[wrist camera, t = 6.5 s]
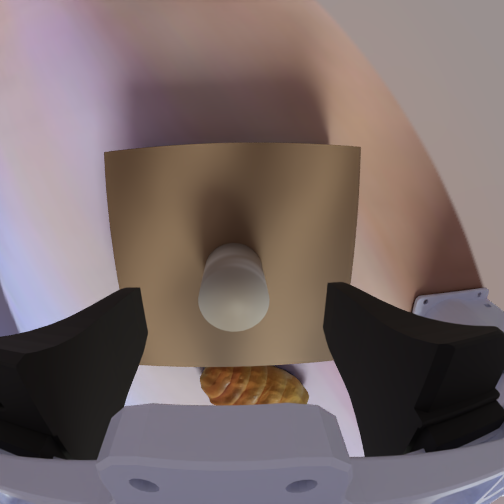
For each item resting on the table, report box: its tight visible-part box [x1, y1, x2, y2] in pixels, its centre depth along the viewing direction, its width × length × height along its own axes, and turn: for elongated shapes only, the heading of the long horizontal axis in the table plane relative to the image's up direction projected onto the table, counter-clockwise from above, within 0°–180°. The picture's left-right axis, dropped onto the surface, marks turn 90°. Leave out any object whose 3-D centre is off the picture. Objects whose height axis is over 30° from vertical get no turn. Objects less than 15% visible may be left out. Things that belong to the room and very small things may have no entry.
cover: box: [104, 143, 361, 367], centre depth 17 cm, size 13×13×8 cm
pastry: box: [200, 365, 309, 406], centre depth 24 cm, size 9×7×4 cm
